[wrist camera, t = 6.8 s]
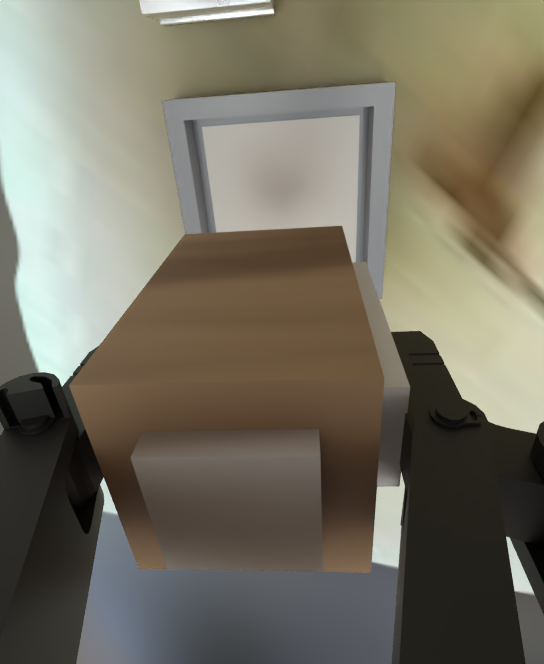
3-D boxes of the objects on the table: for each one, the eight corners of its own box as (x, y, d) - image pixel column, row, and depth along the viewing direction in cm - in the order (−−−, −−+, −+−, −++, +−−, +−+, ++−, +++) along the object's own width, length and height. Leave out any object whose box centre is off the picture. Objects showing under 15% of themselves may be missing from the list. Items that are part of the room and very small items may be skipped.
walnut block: (185, 234, 14) (49, 410, 6) (342, 225, 13) (391, 403, 6) (207, 363, 16) (129, 597, 9) (341, 359, 16) (375, 602, 8)
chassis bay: (176, 98, 25) (162, 101, 23) (385, 81, 24) (395, 82, 22) (206, 286, 31) (197, 305, 29) (375, 279, 30) (382, 298, 28)
